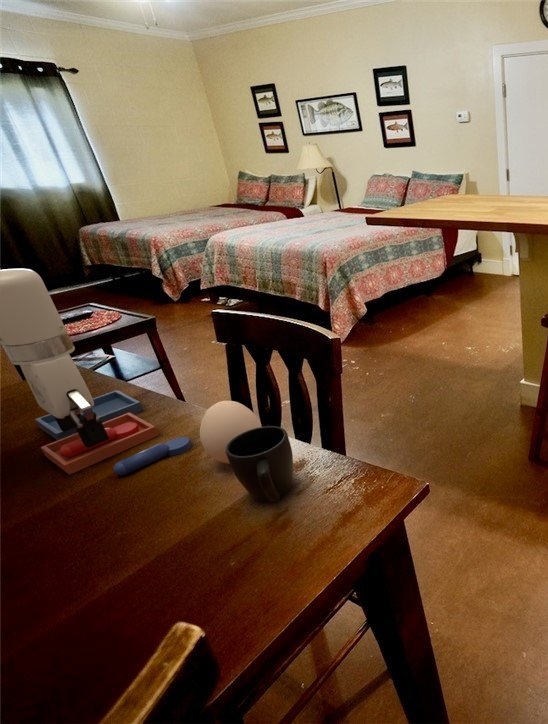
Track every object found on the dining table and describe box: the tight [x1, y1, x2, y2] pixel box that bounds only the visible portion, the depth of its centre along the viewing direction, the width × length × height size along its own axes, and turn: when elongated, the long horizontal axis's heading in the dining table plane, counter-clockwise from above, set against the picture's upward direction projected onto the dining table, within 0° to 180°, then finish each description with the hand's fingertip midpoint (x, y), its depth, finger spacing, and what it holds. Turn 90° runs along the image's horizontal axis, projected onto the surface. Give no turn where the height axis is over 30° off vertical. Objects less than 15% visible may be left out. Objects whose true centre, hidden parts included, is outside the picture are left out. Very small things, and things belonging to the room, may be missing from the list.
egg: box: [199, 400, 262, 464], centre depth 80 cm, size 9×9×12 cm
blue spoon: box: [112, 436, 192, 477], centre depth 82 cm, size 11×4×2 cm, turn 150°
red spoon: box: [59, 422, 140, 458], centre depth 85 cm, size 11×4×2 cm, turn 150°
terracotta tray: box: [40, 413, 159, 476], centre depth 86 cm, size 13×10×2 cm
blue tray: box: [34, 389, 144, 441], centre depth 94 cm, size 13×10×2 cm
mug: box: [225, 425, 294, 503], centre depth 72 cm, size 8×12×10 cm
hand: (85, 435), depth 83 cm, fingers open, 9 cm apart
